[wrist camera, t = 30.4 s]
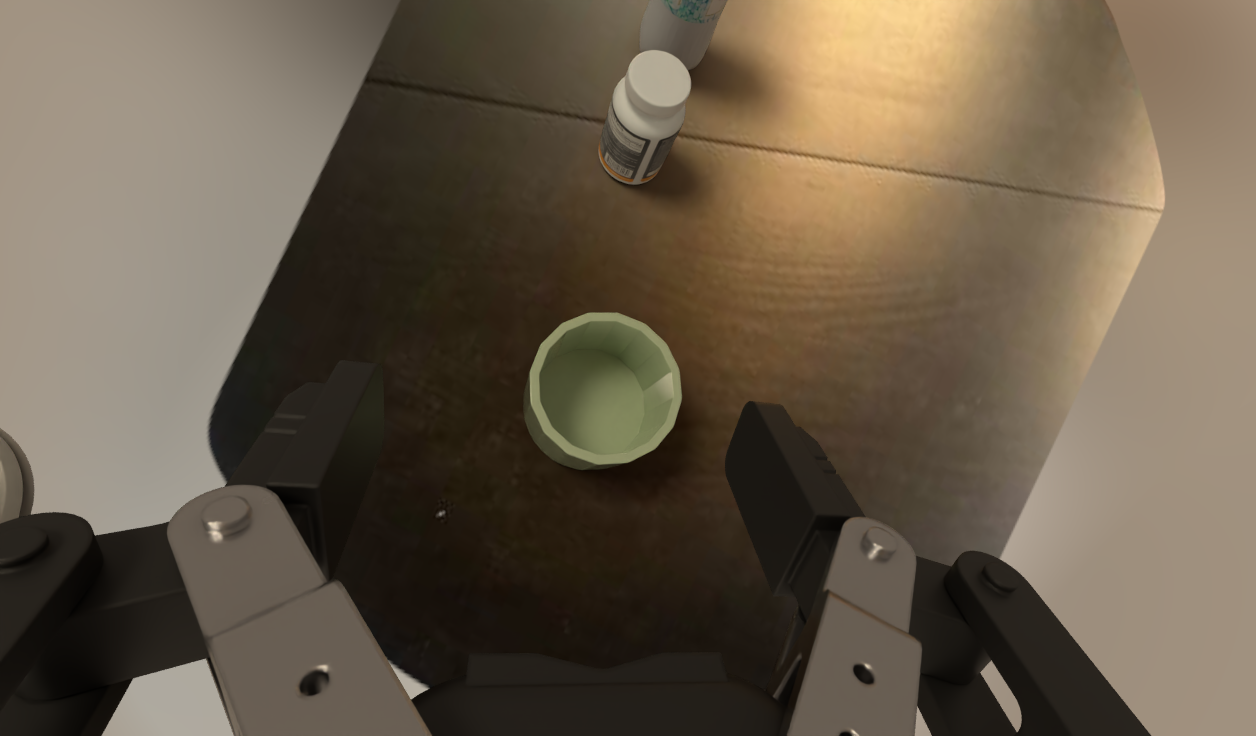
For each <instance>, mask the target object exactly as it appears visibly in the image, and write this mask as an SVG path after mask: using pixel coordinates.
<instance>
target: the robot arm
mask: <svg viewBox="0 0 1256 736" xmlns="http://www.w3.org/2000/svg"><path fill="white" fill-rule="evenodd" d="M383 435H384V397H383V371H382V366H381V365H380V364H374V363H364V362H354V361H344V360H341V361H339V362H338V364H337V366H336V367H335V369H334V371H333V372H332V374H331V376H330V377H329V379H328V381H327V382H326V384H324V383H313V382H308V383H306V384H305V385H303V386H301V387H300V388H298V389H297V390H295V391H294V392H292V393H291V394H289V395H287V396H286V397H285V399H284V400H283V402H282V403H281V405H280V406H279V408H278V409H277V411H276V412H275V413H274V418H271V419H270V421H269V422H268V424H267V425H266V427H265V428H264V432H262V433H261V434H260V435H259V437H258V438H257V440H256V441H255V443H254V444H253V446H252V447H251V449H250V450H249V452H248V453H247V455H246V456H245V457H244V459H243V460H242V462H241V463H240V465H239V466H238V468H237V469H236V471H235V472H234V474H233V475H232V476H231V478H230V479H229V481H228V482H227V484H226V485H225V487H222V488H218V489H215V490H212V491H209V492H206V493H204V494H202V495H200V496H198V497H196V498H194V499H193V500H191V501H189V502H188V503H186V504H185V505H184V506H183V507H181V508H180V509H179V510H178V511H177V512H176V514H175V515H174V516H173V517H172V519H171V520H170V522H166V523H163V524H158V525H153V526H149V527H143V528H137V529H131V530H125V531H119V532H114V533H108V534H102V535H96V536H95V535H94V532H93V530H92V528H91V526H90V524H89V523H88V522H87V521H86V520H85V519H83V518H81V517H79V516H76V515H73V514H68V513H56V512H53V513H40V514H33V515H28V516H23V517H19V518H16V519H12V520H9V521H6V522H3V523H1V524H0V736H101V735H102V734H103V731H104V730H105V728H106V727H107V725H108V723H109V721H110V719H111V717H112V716H113V714H114V712H115V710H116V708H117V707H118V705H119V703H120V701H121V699H122V698H123V696H124V694H125V692H126V690H127V689H128V687H129V685H130V683H131V681H132V679H133V678H136V677H139V676H143V675H147V674H150V673H154V672H158V671H161V670H165V669H169V668H172V667H176V666H180V665H183V664H187V663H191V662H194V661H198V660H202V659H205V658H206V660H207V663H208V665H209V668H210V671H211V674H212V676H213V679H214V682H215V685H216V688H217V690H218V693H219V696H220V699H221V701H222V704H223V707H224V710H225V713H226V715H227V718H228V721H229V724H230V726H231V729H232V732H233V734H234V736H915V724H916V713H917V706H918V708H919V710H920V712H921V714H922V716H923V718H924V720H925V722H926V724H927V726H928V728H929V730H930V732H931V735H932V736H1151V735H1150V734H1149V733H1148V731H1147V730H1146V729H1145V727H1144V726H1143V725H1142V724H1141V722H1140V721H1139V720H1138V719H1137V717H1136V716H1135V715H1134V714H1133V712H1132V711H1131V710H1130V709H1129V708H1128V706H1127V705H1126V704H1125V702H1124V701H1123V700H1122V699H1121V697H1120V696H1119V695H1118V694H1117V692H1116V691H1115V690H1114V689H1113V687H1112V686H1111V685H1110V684H1109V682H1108V681H1107V680H1106V679H1105V677H1104V676H1103V675H1102V674H1101V672H1100V671H1099V670H1098V669H1097V667H1096V666H1095V665H1094V664H1093V662H1092V661H1091V660H1090V659H1089V658H1088V656H1087V655H1086V654H1085V653H1084V651H1083V650H1082V649H1081V647H1080V646H1079V645H1078V644H1077V643H1076V641H1075V640H1074V639H1073V637H1072V636H1071V635H1070V634H1069V632H1068V631H1067V630H1066V629H1065V627H1064V626H1063V625H1062V624H1061V622H1060V621H1059V620H1058V619H1057V618H1056V616H1055V615H1054V614H1053V612H1052V611H1051V610H1050V609H1049V607H1048V606H1047V605H1046V604H1045V602H1044V601H1043V600H1042V599H1041V597H1040V596H1039V595H1038V594H1037V593H1036V591H1035V590H1034V589H1033V587H1032V586H1031V585H1030V584H1029V583H1028V581H1027V580H1026V579H1025V578H1024V577H1023V576H1022V575H1021V574H1020V573H1019V572H1017V571H1016V570H1015V569H1014V568H1012V567H1011V566H1009V565H1008V564H1007V563H1005V562H1003V561H1002V560H1000V559H998V558H996V557H994V556H991V555H989V554H986V553H983V552H978V551H966V552H964V553H962V554H961V555H960V556H959V557H958V559H957V560H956V561H955V563H954V564H953V565H952V567H951V566H947V565H944V564H941V563H938V562H934V561H931V560H928V559H924V558H921V557H918V556H915V553H914V551H913V549H912V548H911V546H910V544H909V543H908V542H907V541H906V540H905V539H904V538H903V537H902V536H901V535H900V534H899V533H898V532H896V531H895V530H894V529H892V528H891V527H889V526H887V525H885V524H884V523H882V522H879V521H877V520H874V519H871V518H866V517H865V515H864V514H863V512H862V511H861V509H860V507H859V506H858V504H857V503H856V501H855V500H854V498H853V497H852V495H851V493H850V492H849V490H848V489H847V487H846V486H845V484H844V483H843V481H842V479H841V478H840V476H839V475H838V474H836V470H835V469H834V467H833V465H832V464H831V462H830V461H827V456H826V455H825V453H824V451H823V450H822V448H821V447H820V445H819V444H818V442H817V441H816V440H815V439H814V438H812V437H811V436H810V435H809V434H808V433H807V432H805V431H804V430H803V429H802V428H801V427H796V426H795V425H794V423H793V421H792V420H791V418H790V416H789V415H788V413H787V412H786V410H785V408H784V407H783V406H782V405H781V404H774V403H764V402H754V401H749V402H748V403H746V405H745V406H744V408H743V410H742V413H741V416H740V418H739V421H738V424H737V426H736V429H735V432H734V434H733V437H732V440H731V442H730V445H729V448H728V451H727V454H726V460H725V471H726V477H727V480H728V482H729V485H730V487H731V490H732V492H733V495H734V497H735V500H736V502H737V505H738V507H739V510H740V512H741V515H742V517H743V520H744V523H745V525H746V528H747V530H748V533H749V535H750V538H751V540H752V543H753V545H754V548H755V550H756V553H757V555H758V558H759V560H760V563H761V565H762V568H763V570H764V573H765V575H766V578H767V581H768V583H769V586H770V588H771V591H772V593H773V596H795V597H796V599H797V601H798V604H799V605H798V607H797V608H796V610H795V612H794V614H793V616H792V619H791V622H790V625H789V627H788V630H787V633H786V636H785V639H784V642H783V644H782V647H781V650H780V653H779V656H778V659H777V662H776V664H775V667H774V670H773V673H772V676H771V679H770V681H769V684H768V686H767V689H766V691H764V690H763V689H761V688H759V687H758V686H756V685H754V684H752V683H750V682H748V681H746V680H744V679H741V678H739V677H736V676H734V675H731V674H727V673H726V670H725V667H724V663H723V660H722V656H721V652H663V653H660V654H656V655H653V656H649V657H646V658H642V659H639V660H635V661H632V662H628V663H625V664H621V665H618V666H615V667H611V668H607V669H597V668H593V667H589V666H585V665H581V664H577V663H573V662H569V661H565V660H561V659H557V658H553V657H549V656H545V655H541V654H537V653H482V654H469V660H468V668H467V675H464V676H460V677H457V678H454V679H451V680H448V681H446V682H443V683H441V684H438V685H436V686H434V687H432V688H430V689H428V690H426V691H424V692H423V693H421V694H419V695H417V696H416V697H414V698H413V699H412V700H411V699H410V698H409V696H408V694H407V692H406V691H405V689H404V687H403V686H402V684H401V682H400V681H399V679H398V677H397V676H396V674H395V672H394V671H393V669H392V667H391V665H390V664H389V662H388V660H387V659H386V657H385V655H384V654H383V652H382V650H381V648H380V647H379V645H378V643H377V642H376V640H375V638H374V637H373V635H372V633H371V632H370V630H369V628H368V627H367V625H366V623H365V621H364V620H363V618H362V616H361V615H360V613H359V611H358V610H357V608H356V606H355V605H354V603H353V601H352V600H351V598H350V596H349V594H348V593H347V591H346V590H345V588H344V587H343V585H342V584H341V583H340V582H339V581H338V580H337V579H335V578H334V579H333V576H334V573H335V571H336V568H337V566H338V563H339V560H340V558H341V555H342V552H343V550H344V547H345V544H346V542H347V539H348V536H349V534H350V531H351V529H352V526H353V523H354V521H355V518H356V515H357V513H358V510H359V507H360V505H361V502H362V499H363V497H364V494H365V491H366V489H367V486H368V484H369V481H370V478H371V476H372V473H373V470H374V468H375V465H376V462H377V460H378V457H379V454H380V451H381V447H382V442H383ZM991 660H992V662H993V663H994V665H995V666H996V668H997V670H998V671H999V673H1000V674H1001V676H1002V677H1003V679H1004V680H1005V682H1006V683H1007V685H1008V687H1009V688H1010V690H1011V691H1012V693H1013V694H1014V696H1015V698H1016V699H1017V701H1018V704H1019V706H1020V710H1021V715H1022V723H1021V727H1020V729H1019V731H1018V732H1016V730H1015V729H1014V727H1013V726H1012V724H1011V722H1010V721H1009V719H1008V717H1007V716H1006V714H1005V712H1004V711H1003V709H1002V708H1001V706H1000V704H999V703H998V701H997V699H996V698H995V696H994V695H993V693H992V691H991V690H990V688H989V687H988V685H987V683H986V682H985V680H984V678H983V677H982V675H981V673H980V672H981V671H982V670H983V669H984V668H985V666H986V665H987V664H988V663H989V662H990V661H991Z"/></svg>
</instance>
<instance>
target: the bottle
mask: <svg viewBox="0 0 1256 736" xmlns="http://www.w3.org/2000/svg"><path fill="white" fill-rule="evenodd" d="M726 2H727V0H650V1H649V3H648V6H647V8H646V11H645V13H644V16H643V19H642V23H641V27H640V52H641V53H642V52H645V51H649V50H659V51H664V52H667V53H669V54H671V55H673V56H675V57H676V58H678V59H679V60H680V61H681V62H682V63H683V64H684V66H685V67H686V69H687V70H691V69H693V68H695V67H696V66H697V65H698V64H699V63H700V61H701V60H702V58H703V56H704V54H705V52H706V50H707V48H708V46H709V43H710V41H711V38H712V36H713V33H714V30H715V28H716V25H717V22H718V19H719V17H720V15H721V13H722V11H723V9H724V7H725V5H726Z"/></svg>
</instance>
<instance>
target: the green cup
mask: <svg viewBox="0 0 1256 736" xmlns="http://www.w3.org/2000/svg"><path fill="white" fill-rule="evenodd" d="M681 401H682V392H681V381H680V371H679V368H678V366H677V364H676V362H675V360H674V358H673V356H672V354H671V352H670V350H669V348H668V346H667V344H666V343H665V342H664V341H663V340H662V339H661V338H660V337H659V336H658V335H657V334H656V333H655V332H653V331H652V330H651V329H650V328H649V327H648V326H647V325H646V324H644V323H642V322H639V321H637V320H634V319H632V318H629V317H627V316H624V315H622V314H619V313H586V314H584V315H581V316H579V317H576V318H574V319H572V320H569V321H567V322H564V323H562V324H561V325H560V326H559V327H558V328H557V329H556V330H555V331H554V332H553V333H552V334H551V335H550V336H549V337H548V338H547V339H546V340H545V341H544V342H543V343H542V344H541V345H540V347H539V350H538V352H537V355H536V358H535V360H534V363H533V365H532V368H531V370H530V373H529V377H528V380H527V384H526V387H525V391H524V419H525V422H526V425H527V427H528V430H529V433H530V434H531V436H532V438H533V440H534V442H535V443H536V445H538V447H539V448H540V449H541V450H542V451H543V452H544V453H545V454H546V455H547V456H549V457H550V458H551V459H553V460H554V461H556V462H558V463H560V464H562V465H564V466H567V467H570V468H574V469H578V470H595V469H606V468H610V467H614V466H618V465H621V464H625V463H629V462H631V461H633V460H635V459H637V458H639V457H641V456H643V455H645V454H647V453H649V452H651V451H653V450H654V449H656V447H657V446H658V445H659V444H660V443H661V441H662V440H663V439H664V438H665V437H666V435H667V434H668V433H669V432H670V431H671V429H672V428H673V426H674V424H675V421H676V417H677V414H678V411H679V407H680V404H681Z"/></svg>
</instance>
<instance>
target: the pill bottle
mask: <svg viewBox="0 0 1256 736" xmlns="http://www.w3.org/2000/svg"><path fill="white" fill-rule="evenodd" d="M690 90H691V79H690V75H689V72H688V70H687V69H686V67H685V66H684V64H683V63H682V62H681V61H680V60H679V59H678V58H676V57H675V56H673V55H671V54H669V53H667V52H664V51H659V50H649V51H645V52H642V53H640V54H638V55H637V56H636V57H635V58H634V59H633V60H632V62H631V63H630V65H629V68H628V71H627V74H626V76H625V77H624V78H622V79H621V80H620V82H619V83H618V84H617V86H616V87H615V90H614V92H613V96H612V100H611V103H610V107H609V110H608V114H607V118H606V121H605V125H604V128H603V132H602V135H601V139H600V144H599V158H600V161H601V163H602V165H603V167H604V169H605V170H606V171H607V172H608V173H609V174H610V175H611V176H612V177H613V178H615V179H616V180H618V181H621V182H623V183H626V184H633V185H635V184H642V183H645V182H648V181H649V180H651V179H652V178H654V177H655V176H656V174H657V173H658V172H659V170H660V168H661V166H662V164H663V163H664V160H665V159H666V157H667V155H668V153H669V151H670V149H671V147H672V144H673V142H674V140H675V138H676V137H677V135H678V133H679V131H680V129H681V127H682V125H683V122H684V118H685V103H686V101H687V98H688V96H689V94H690Z"/></svg>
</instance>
